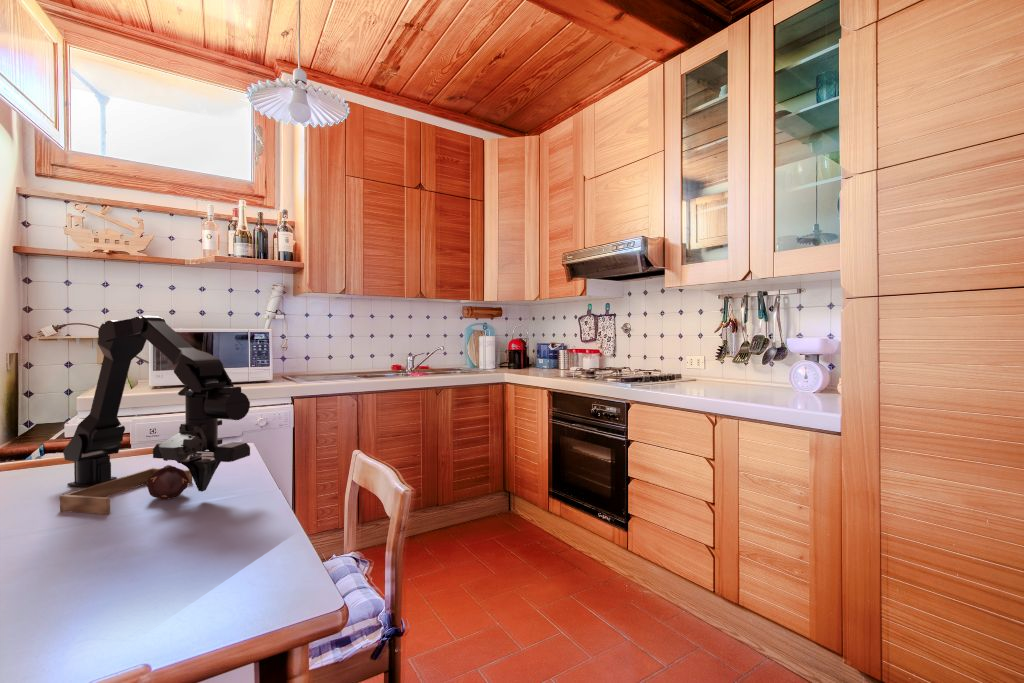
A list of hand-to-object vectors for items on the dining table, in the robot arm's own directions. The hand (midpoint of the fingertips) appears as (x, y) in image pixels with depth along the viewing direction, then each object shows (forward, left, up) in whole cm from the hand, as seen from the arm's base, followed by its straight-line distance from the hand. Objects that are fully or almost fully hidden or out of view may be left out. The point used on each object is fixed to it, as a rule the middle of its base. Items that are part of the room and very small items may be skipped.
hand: (202, 490), depth 102 cm
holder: (-17, 0, -2) cm, 17 cm away
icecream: (-8, 0, -2) cm, 9 cm away
